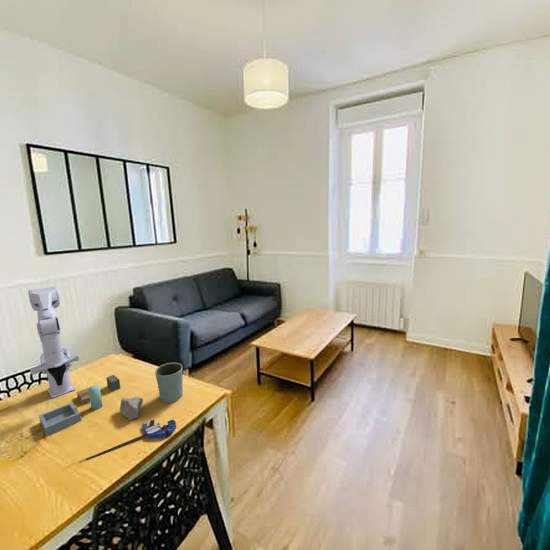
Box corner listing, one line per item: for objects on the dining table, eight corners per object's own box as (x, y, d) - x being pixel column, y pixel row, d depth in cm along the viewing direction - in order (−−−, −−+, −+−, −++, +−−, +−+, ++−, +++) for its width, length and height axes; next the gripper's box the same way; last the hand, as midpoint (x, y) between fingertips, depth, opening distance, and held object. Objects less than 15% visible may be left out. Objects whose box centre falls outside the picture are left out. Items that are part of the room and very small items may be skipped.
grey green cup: (174, 386, 127) (172, 360, 125) (190, 394, 122) (187, 366, 119) (153, 398, 119) (149, 370, 117) (168, 407, 114) (165, 378, 111)
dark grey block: (107, 386, 129) (106, 377, 129) (115, 383, 132) (113, 374, 131) (112, 391, 125) (111, 382, 125) (120, 388, 128) (119, 379, 127)
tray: (40, 422, 107) (38, 415, 107) (73, 409, 114) (71, 402, 114) (46, 435, 101) (45, 428, 100) (81, 420, 108) (79, 413, 107)
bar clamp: (170, 410, 108) (178, 426, 100) (171, 416, 109) (178, 433, 100) (60, 453, 91) (59, 477, 83) (62, 460, 92) (61, 484, 84)
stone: (149, 414, 110) (147, 400, 109) (124, 424, 105) (122, 409, 104) (142, 402, 118) (140, 388, 117) (119, 410, 113) (117, 396, 112)
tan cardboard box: (77, 397, 122) (76, 392, 122) (94, 391, 127) (93, 385, 126) (83, 405, 117) (82, 400, 116) (100, 398, 121) (99, 393, 121)
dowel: (90, 407, 115) (86, 388, 114) (100, 402, 118) (97, 383, 116) (93, 411, 113) (90, 391, 111) (103, 406, 115) (100, 387, 114)
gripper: (30, 361, 103) (37, 397, 106) (79, 346, 114) (84, 380, 116) (26, 355, 108) (33, 390, 111) (73, 342, 118) (79, 374, 121)
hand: (59, 384), depth 114 cm, fingers closed
